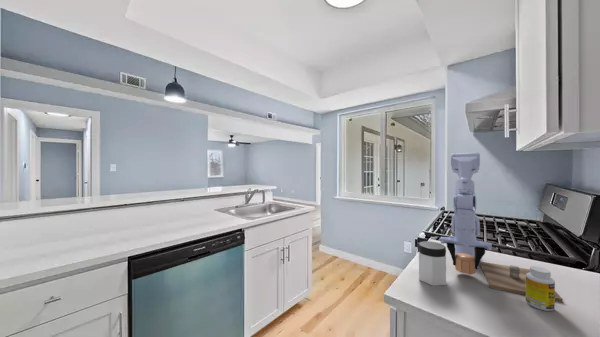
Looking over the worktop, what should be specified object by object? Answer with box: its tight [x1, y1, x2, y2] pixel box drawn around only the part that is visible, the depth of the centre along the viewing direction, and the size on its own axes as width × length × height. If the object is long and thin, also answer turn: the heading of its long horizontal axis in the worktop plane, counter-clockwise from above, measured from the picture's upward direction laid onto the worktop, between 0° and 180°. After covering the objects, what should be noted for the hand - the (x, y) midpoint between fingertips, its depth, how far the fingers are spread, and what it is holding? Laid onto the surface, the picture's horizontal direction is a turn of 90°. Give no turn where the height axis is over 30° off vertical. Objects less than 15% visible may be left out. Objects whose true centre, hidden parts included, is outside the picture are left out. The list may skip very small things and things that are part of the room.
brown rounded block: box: [454, 253, 476, 275], centre depth 81 cm, size 6×6×5 cm
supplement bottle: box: [525, 265, 556, 312], centre depth 64 cm, size 6×6×10 cm
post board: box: [479, 260, 564, 303], centre depth 78 cm, size 20×16×4 cm
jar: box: [418, 240, 447, 287], centre depth 79 cm, size 9×8×12 cm
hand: (464, 266), depth 81 cm, fingers closed on brown rounded block, 6 cm apart
